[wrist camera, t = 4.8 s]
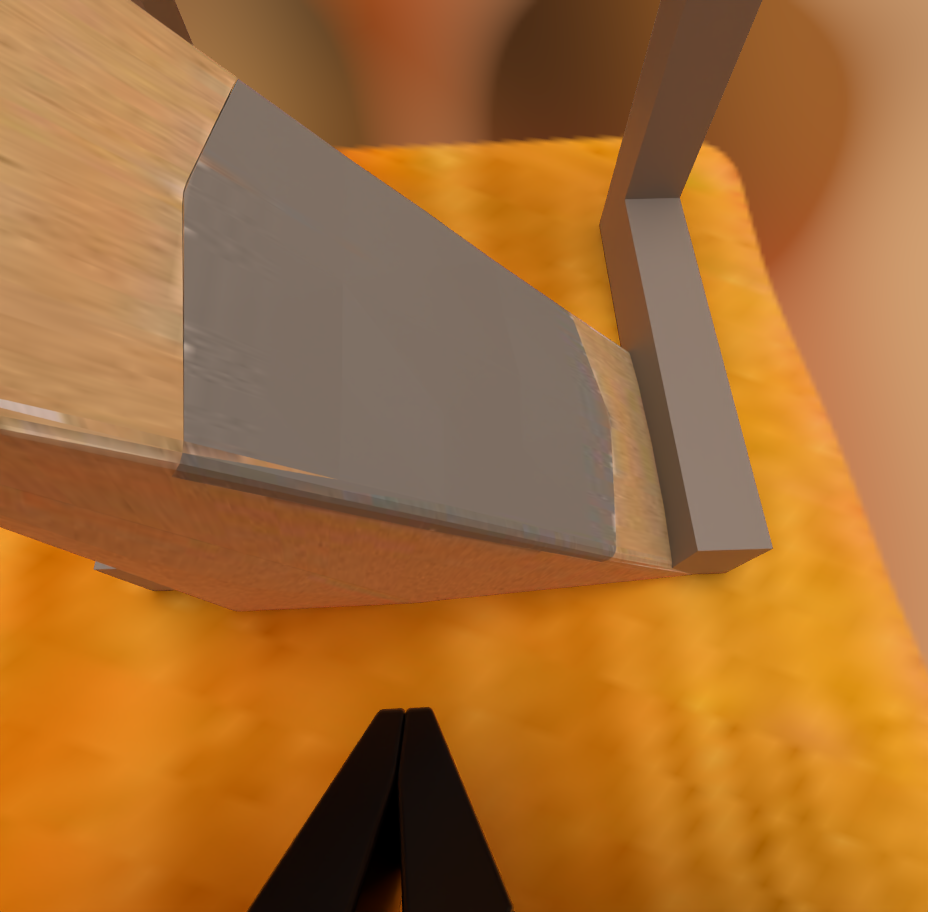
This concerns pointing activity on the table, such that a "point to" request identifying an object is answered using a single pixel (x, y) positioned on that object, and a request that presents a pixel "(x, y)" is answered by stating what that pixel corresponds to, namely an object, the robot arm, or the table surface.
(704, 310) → the grey frame stand
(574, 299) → the table surface
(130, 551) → the sandwich container
